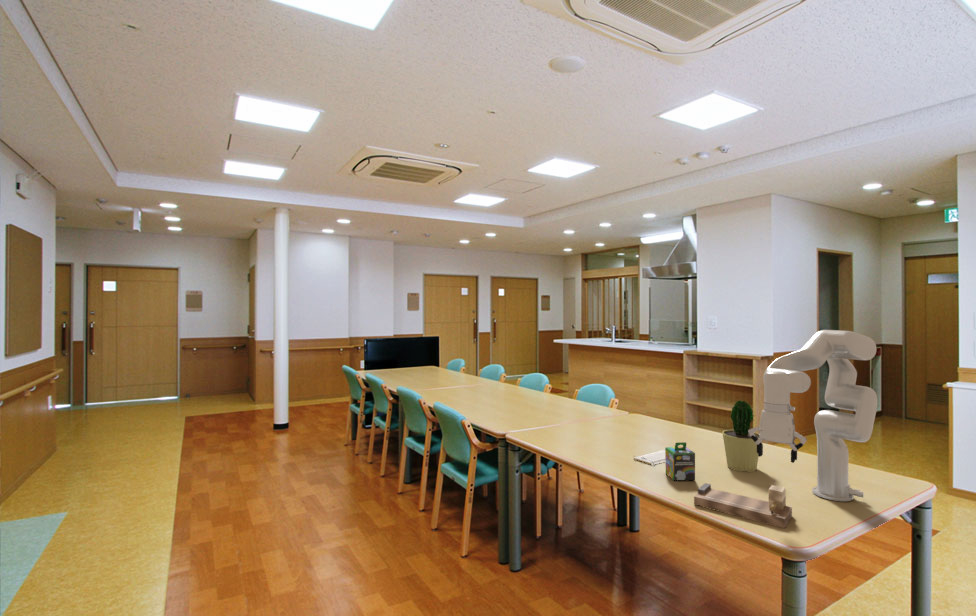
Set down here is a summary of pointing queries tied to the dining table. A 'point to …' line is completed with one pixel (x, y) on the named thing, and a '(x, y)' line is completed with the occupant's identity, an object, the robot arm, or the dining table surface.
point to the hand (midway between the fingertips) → (776, 458)
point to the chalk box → (680, 462)
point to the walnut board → (742, 506)
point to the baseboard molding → (652, 457)
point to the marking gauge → (776, 498)
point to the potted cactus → (741, 439)
